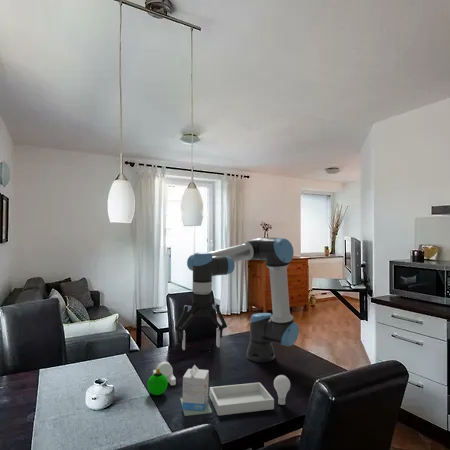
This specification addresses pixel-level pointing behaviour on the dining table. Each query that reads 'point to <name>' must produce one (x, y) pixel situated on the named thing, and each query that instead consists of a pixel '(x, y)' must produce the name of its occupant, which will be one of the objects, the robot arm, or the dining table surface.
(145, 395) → the dining table surface
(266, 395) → the tray
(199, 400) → the ink box
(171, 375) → the slotted bracket
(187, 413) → the mat
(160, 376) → the ornament
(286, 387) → the lightbulb
